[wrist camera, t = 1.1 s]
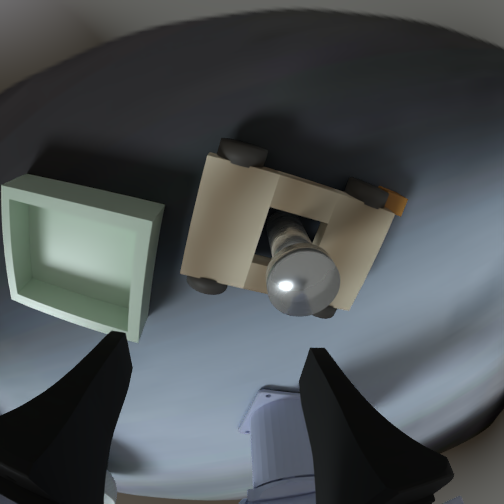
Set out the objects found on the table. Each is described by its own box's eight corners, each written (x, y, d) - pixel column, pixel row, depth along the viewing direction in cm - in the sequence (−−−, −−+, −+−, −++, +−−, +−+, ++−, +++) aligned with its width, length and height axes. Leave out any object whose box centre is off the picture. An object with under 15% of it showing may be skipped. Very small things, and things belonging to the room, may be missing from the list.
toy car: (397, 193, 18) (417, 205, 16) (347, 303, 22) (358, 324, 20) (216, 133, 17) (212, 136, 14) (184, 266, 20) (177, 287, 18)
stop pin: (315, 210, 19) (351, 263, 13) (298, 254, 20) (323, 321, 14) (266, 196, 18) (281, 244, 12) (252, 243, 20) (257, 309, 13)
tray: (165, 204, 18) (152, 221, 16) (147, 316, 22) (138, 343, 19) (26, 173, 17) (1, 185, 14) (29, 279, 20) (11, 299, 18)
